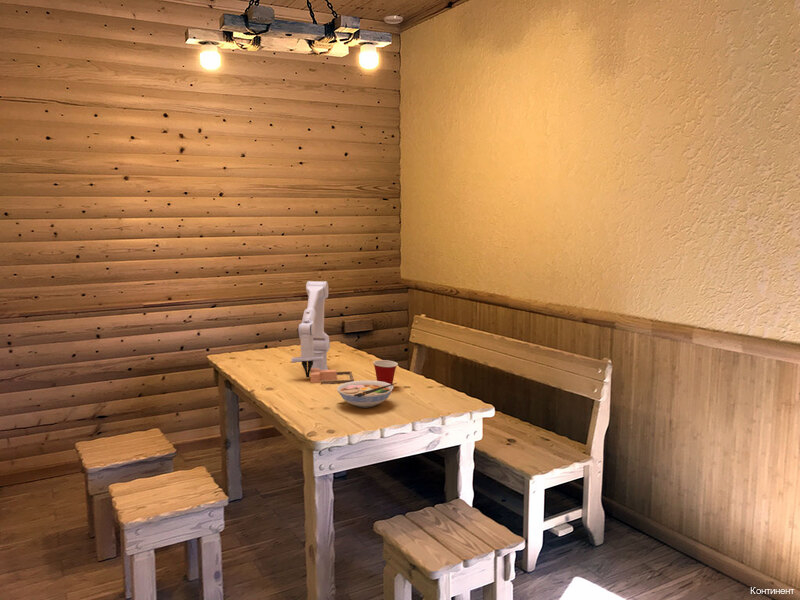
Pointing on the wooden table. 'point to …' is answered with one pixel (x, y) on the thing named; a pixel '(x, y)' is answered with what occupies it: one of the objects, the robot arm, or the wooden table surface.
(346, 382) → the frame
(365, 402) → the ramen bowl
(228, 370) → the wooden table surface
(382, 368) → the plastic cup
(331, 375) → the t block
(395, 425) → the wooden table surface
